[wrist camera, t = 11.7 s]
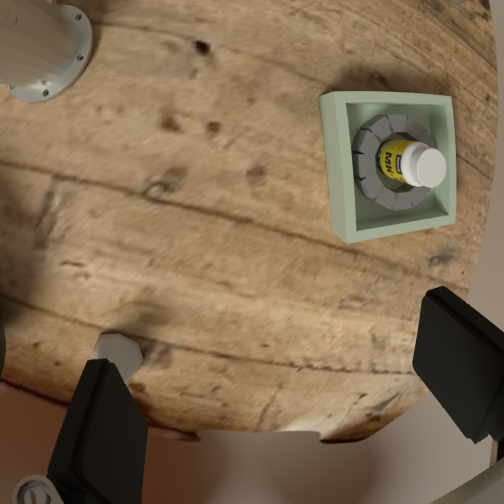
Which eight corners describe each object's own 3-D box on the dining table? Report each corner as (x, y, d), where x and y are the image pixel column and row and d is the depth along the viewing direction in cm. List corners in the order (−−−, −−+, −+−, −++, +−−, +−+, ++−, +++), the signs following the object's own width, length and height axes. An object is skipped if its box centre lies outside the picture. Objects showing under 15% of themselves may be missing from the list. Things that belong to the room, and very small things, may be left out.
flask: (145, 337, 40) (132, 389, 30) (142, 376, 42) (132, 428, 32) (94, 326, 38) (70, 374, 29) (95, 366, 40) (77, 415, 31)
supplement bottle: (367, 148, 34) (407, 155, 26) (397, 132, 33) (440, 136, 26) (383, 184, 36) (423, 199, 28) (411, 167, 35) (454, 178, 27)
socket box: (318, 96, 32) (333, 91, 28) (429, 98, 33) (451, 96, 29) (332, 231, 38) (346, 243, 34) (435, 214, 39) (455, 223, 35)
